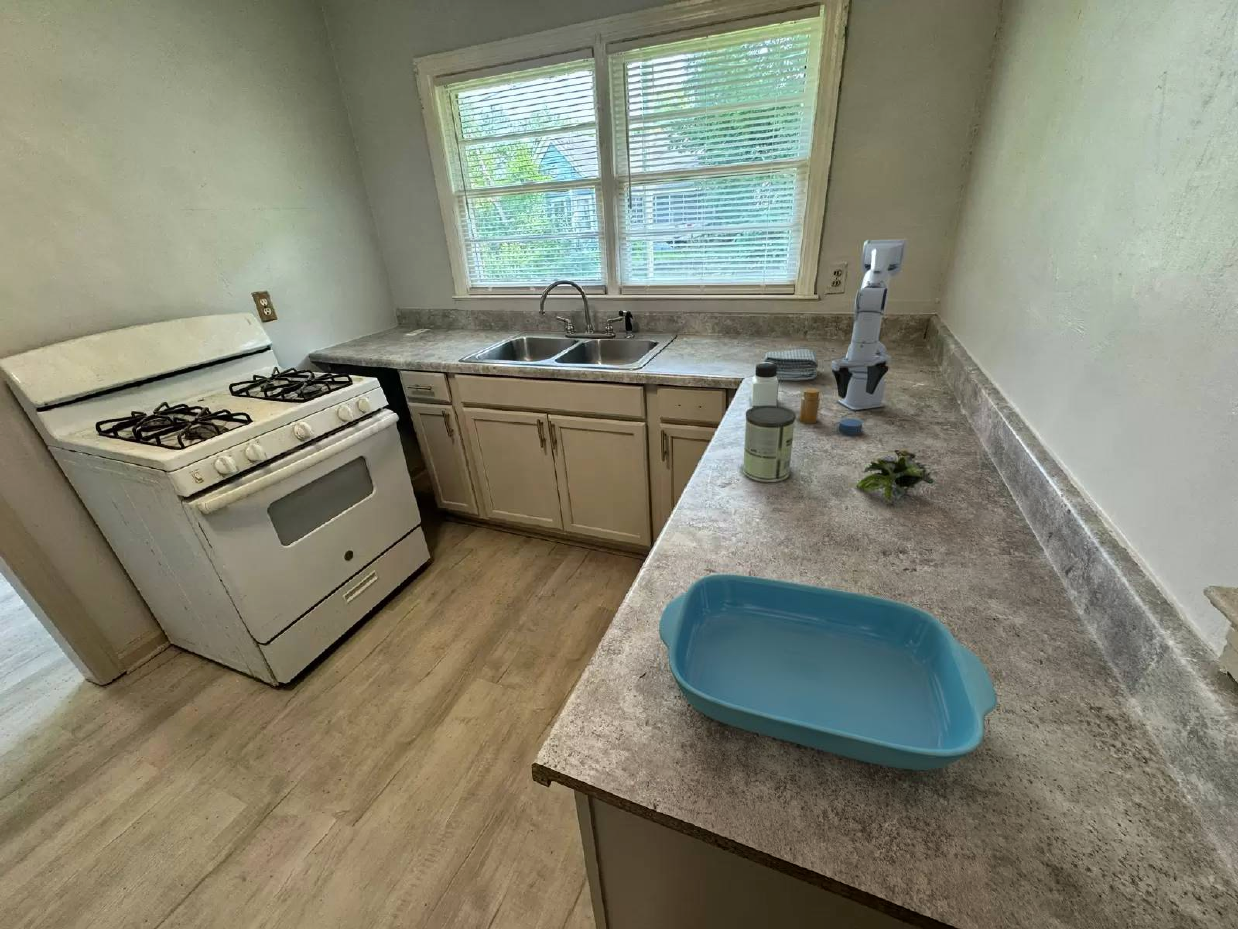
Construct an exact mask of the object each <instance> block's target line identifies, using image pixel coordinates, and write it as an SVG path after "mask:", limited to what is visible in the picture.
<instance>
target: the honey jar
mask: <svg viewBox="0 0 1238 929" xmlns="http://www.w3.org/2000/svg"><path fill="white" fill-rule="evenodd" d="M802 392H803V393H802V396H801V401H800V408H799V417H798V419H799V422H801V423H804V424H815V423H817V421H818V415H819V410H820V409H819V408H820V401H821V398H820V393H821V391H820V389H818V388H816V387H807V388H806V387H805V388H804V389H803V391H802Z"/></svg>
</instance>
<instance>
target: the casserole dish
mask: <svg viewBox="0 0 1238 929" xmlns="http://www.w3.org/2000/svg"><path fill="white" fill-rule="evenodd" d="M658 633H659V637H660V640H661V642H662V643H663V644H664V645H665V646H666V648H667V649H668V666H669V668H670V673H671V674H672V677H673V679H674V680H675V682H676V684H677V687H678V688H679V690H680V693H681V694H682V696H683V697H684V698H685V700H686V701H687V702H688V703H689V704H690V705H691V706H692V707H693V708H694V709H695V710H697V711H698V712H699V713H701V714H703V715H705V716H706V717H708V718H710V719H713V720H715V721H718V722H720V723H722V724H726V725H728V726H730V727H735V728H737V729H740V730H741V729H742V730H744V731H747V732H752V733H755V734H758V735H762V736H767V737H770V738H773V739H777V740H778V739H779V740H781V741H786V742H790V743H792V744H793V743H794V744H798V745H801V746H804V747H808V748H812V749H815V750H819V751H822V752H827V753H829V754H833V755H837V756H841V757H845V758H849V759H852V760H857V761H860V762H865V763H869V764H874V765H878V766H884V767H889V768H896V769H902V770H913V771H929V770H936V769H939V768H943V767H946V766H949V765H951V764H953V763H956V762H957V761H959V760H960V759H962V758H964V757H965V756H967V755H969V754H971V753H973V752H974V751H975V750H976V749H978V748H979V747H980V745H981V743H982V741H983V740H984V736H985V717H986V716H987V715H989V714H990V713H991V712H993V710H994V709H995V708H996V706H997V704H998V703H997V702H998V696H997V692H996V689H995V686H994V683H993V681H992V679H991V676H990V673H989V672H988V670H987V668H986V666H985V664H984V663H983V662H982V660H980V658H979V657H978V656H977V655H976V654H975V653H974V652H972V651H971V650H969V649H968V648H967V647H965V646H964V645H963V644H961V643H960V642H959V641H958V640H957V639H956V638H955V636H954V634H952V632H951V631H950V629H949V628H948V627H947V626H946V625H945V624H944V623H943V622H942V621H941V620H939V619H938V618H937V617H935V616H933V615H932V614H931V613H929V612H926V610H923V609H920V608H918V607H916V606H913V605H910V604H907V603H905V602H900V601H897V600H892V599H888V598H884V597H879V596H875V595H869V594H863V593H858V592H853V591H848V590H841V589H834V588H829V587H822V586H816V585H810V584H809V585H808V584H803V583H798V582H792V581H786V580H779V579H772V578H765V577H760V576H753V575H752V576H751V575H744V574H736V573H735V574H734V573H716V574H710V575H705V576H703V577H700V578H699V579H697V580H696V581H694V582H693V583H692V584H691V585H690V586H689V587H688V588H687V589H686V591H685V592H684V593H682V594H681V595H678V596H677V597H676V598H674V599H673V600H671V601H670V602H669V603H668V604H667V605H666V607H665V608H664V610H663V612H662V614H661V617H660V621H659V626H658Z"/></svg>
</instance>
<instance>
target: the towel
mask: <svg viewBox="0 0 1238 929" xmlns="http://www.w3.org/2000/svg"><path fill="white" fill-rule="evenodd" d="M763 362H770V363H774V364H776V365H777V374H776V377H777V380H778V381H795V382H796V381H799V382H800V381H809V380H814V379H815V378H816V377H817V376H818V371H817V370H818V366H819V361H818V359H817V355H816V353H815V352H814V351H813V350H810V349H806V348H804V349H803V348H801V349H789V350H782V351H781V350H779V351H777V350H776V351H767V352H766V353H765V355H764V359H763ZM763 362H761V363H763Z"/></svg>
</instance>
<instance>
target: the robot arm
mask: <svg viewBox="0 0 1238 929" xmlns="http://www.w3.org/2000/svg"><path fill="white" fill-rule="evenodd" d="M907 244H908V240H907V239H906V237H904V238H898V239H895V238H894V239H893V238H892V239H866V240H865V241H864V243H863V247H862V254H861V260H860V261H861V271H862V272H861V273H862V274H861V275H863V279H862V283H861V287H860V289H857V291H856V293H855V294H856V295H855V301H854V307H853V308H854V309H853V310H854V312H853V313H854V316H853V322H854V323H853V327H852V328H853V329H852V336H851V341H850V345H849V346H848V347H847V352H846V355H845V357H844V358H840V359H837V360H832V361H831V365H830V369H831V372H832V375H833V376H834V379H835V383H836V388H837V396H838V397H840V398H842V399H838V400H837V402H838V403H840V404H841V405H843V406H844V407H846V408H848V409H850V410H851V411H859V410H867V409H875V408H881V407H884V404H882V403H883V397H884V392H885V388H886V380H885V377H884V376H885V375H886V374H887V373H888V372H889V368H890V367H889V366H888V365H890V364H891V360H892V356H891V355H888V354H887V353H886V352H887V348H886V345H884V344H883V343H882V342H881V341H880V340H879V338H880V332H881V327H882V320H883V315H884V314H885V312H886V310H887V305H888V300H889V293H890V292H889V291H890V290H889V285H890V281H891V279H892V278H893V277H895V276H897V275H899V274H900V272H901V271H902V268H903V263H904V260H905V254H906V250H907V249H906V248H907Z"/></svg>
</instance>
